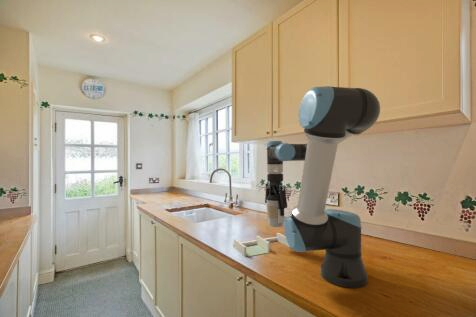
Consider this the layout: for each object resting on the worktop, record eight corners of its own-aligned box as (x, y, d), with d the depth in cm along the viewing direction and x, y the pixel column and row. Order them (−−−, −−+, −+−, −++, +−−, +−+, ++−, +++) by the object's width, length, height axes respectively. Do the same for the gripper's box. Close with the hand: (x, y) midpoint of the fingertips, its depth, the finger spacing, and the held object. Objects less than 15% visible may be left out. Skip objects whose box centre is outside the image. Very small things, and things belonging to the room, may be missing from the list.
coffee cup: (263, 226, 113) (263, 194, 113) (270, 221, 121) (269, 192, 121) (282, 228, 108) (281, 195, 109) (287, 224, 116) (287, 193, 116)
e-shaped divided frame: (291, 247, 114) (291, 239, 114) (244, 256, 104) (244, 247, 104) (276, 239, 126) (276, 231, 126) (232, 246, 116) (232, 238, 116)
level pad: (268, 252, 107) (268, 252, 107) (247, 256, 103) (247, 256, 103) (258, 245, 117) (258, 245, 117) (238, 249, 112) (238, 248, 112)
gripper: (295, 174, 106) (295, 224, 106) (270, 172, 126) (270, 214, 126) (281, 174, 103) (281, 226, 103) (257, 172, 123) (258, 216, 123)
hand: (275, 220), depth 114 cm, fingers closed on coffee cup, 8 cm apart
